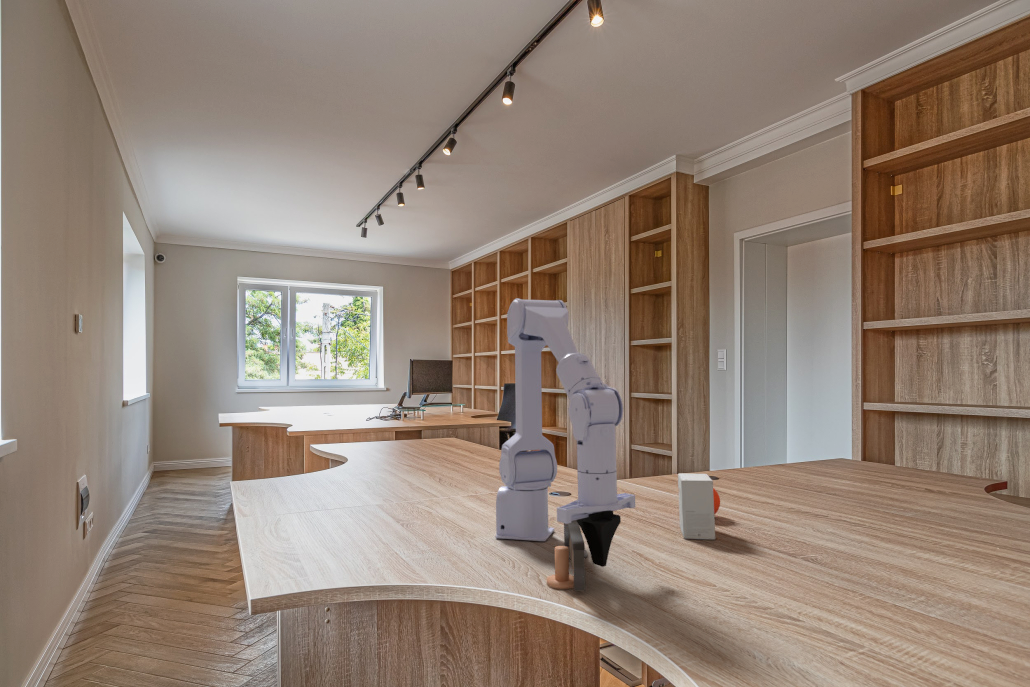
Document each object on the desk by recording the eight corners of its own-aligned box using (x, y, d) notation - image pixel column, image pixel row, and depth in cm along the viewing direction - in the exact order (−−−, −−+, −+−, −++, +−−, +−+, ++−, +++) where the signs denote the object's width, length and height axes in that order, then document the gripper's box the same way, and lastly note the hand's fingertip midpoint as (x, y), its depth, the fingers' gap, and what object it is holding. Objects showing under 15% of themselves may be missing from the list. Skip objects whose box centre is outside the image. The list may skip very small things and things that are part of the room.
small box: (715, 540, 102) (713, 480, 102) (683, 539, 103) (681, 480, 103) (709, 528, 109) (707, 473, 110) (679, 527, 111) (677, 472, 111)
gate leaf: (567, 555, 93) (566, 516, 93) (577, 555, 93) (576, 516, 93) (573, 590, 77) (572, 544, 78) (585, 590, 77) (584, 544, 78)
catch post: (543, 587, 80) (543, 551, 81) (550, 576, 85) (550, 542, 85) (574, 590, 79) (573, 553, 79) (580, 579, 83) (579, 544, 84)
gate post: (553, 558, 93) (552, 512, 93) (560, 549, 98) (559, 505, 98) (584, 561, 91) (583, 513, 92) (589, 551, 96) (588, 506, 97)
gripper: (580, 480, 77) (583, 584, 76) (650, 468, 86) (653, 560, 85) (546, 473, 82) (548, 570, 82) (614, 463, 91) (616, 549, 90)
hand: (599, 564), depth 84 cm, fingers closed
